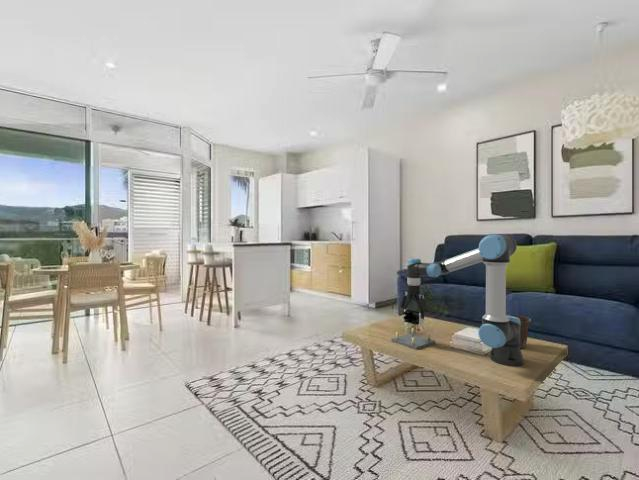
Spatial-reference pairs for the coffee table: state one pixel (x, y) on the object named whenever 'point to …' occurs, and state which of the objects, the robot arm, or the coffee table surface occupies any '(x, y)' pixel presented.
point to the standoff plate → (417, 341)
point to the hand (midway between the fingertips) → (413, 321)
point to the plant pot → (523, 329)
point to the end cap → (411, 317)
